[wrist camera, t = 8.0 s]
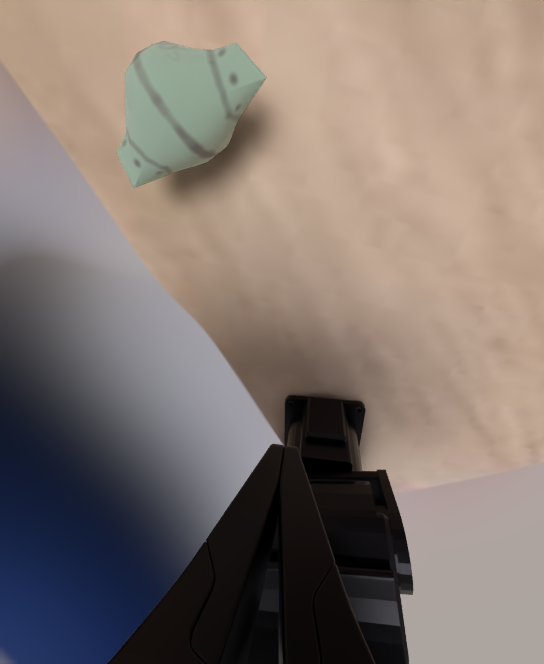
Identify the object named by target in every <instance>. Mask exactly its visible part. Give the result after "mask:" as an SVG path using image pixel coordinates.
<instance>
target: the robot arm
mask: <svg viewBox="0 0 544 664" xmlns="http://www.w3.org/2000/svg"><path fill="white" fill-rule="evenodd" d="M289 401H293V403H291V402H289ZM359 407H360V408H361V409H356V408H359ZM364 416H365V405H364V404H363V403H362V402H355V401H344V400H334V399H324V398H313V397H301V396H288V397H287V398H286V402H285V447H284V446H283V445H279V444H272V445H271V446H270V447H269V448H268V450H267V451H266V453H265V454H264V456H263V457H262V459H261V460H260V462H259V463H258V465H257V466H256V467H255V469H254V470H253V472H252V473H251V475H250V476H249V478H248V479H247V481H246V482H245V484H244V485H243V487H242V488H241V489H240V491H239V492H238V494H237V495H236V497H235V498H234V500H233V501H232V503H231V504H230V505H229V507H228V508H227V510H226V511H225V513H224V515H223V516H222V517H221V519H220V520H219V522H218V523H217V524H216V526H215V527H214V529H213V530H212V532H211V533H210V535H209V536H208V538H207V539H206V541H207V542H204V543H203V545H202V546H201V548H200V549H199V551H198V552H197V554H196V555H195V557H194V558H193V559H192V561H191V562H190V563H189V565H188V566H187V567H186V569H185V570H184V572H183V573H182V574H181V576H180V577H179V578H178V580H177V581H176V582H175V583H174V585H173V586H172V587H171V588H170V589H169V591H168V592H167V593H166V594H165V596H164V597H163V598H162V599H161V601H160V602H159V603H158V604H157V605H156V607H155V608H154V609H153V610H152V611H151V612H150V614H149V615H148V616H147V617H146V618H145V620H144V621H143V622H142V623H141V624H140V626H139V627H138V628H137V629H136V631H135V632H134V633H133V634H132V635H131V636H130V638H129V639H128V640H127V641H126V642H125V644H124V645H123V646H122V647H121V649H119V651H118V652H117V653H116V654H115V655H114V657H113V658H112V659H111V660H110V661H109V662H108V663H107V664H409V657H408V649H407V642H406V634H405V627H404V620H403V613H402V605H401V598H400V594H408V595H412V594H413V580H412V570H411V563H410V557H409V551H408V546H407V540H406V536H405V531H404V527H403V523H402V519H401V516H400V513H399V510H398V506H397V503H396V500H395V497H394V494H393V491H392V488H391V485H390V482H389V479H388V476H387V473H386V470H377V471H362V465H361V459H360V452H359V445H360V439H361V433H362V427H363V421H364Z"/></svg>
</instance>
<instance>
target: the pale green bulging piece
mask: <svg viewBox="0 0 544 664" xmlns="http://www.w3.org/2000/svg"><path fill="white" fill-rule="evenodd" d="M266 78H267V77H266V76H265V75H264V74H263V73H262V72H261V70H260V69H259V68H258V67H257V66H256V65H255V64H254V62H253V61H252V60H251V59H250V58H249V57H248V56H247V55H246V53H245V52H244V51H243V50H242V49H241V48H240V47H239V45H238V44H237V43H234V44H231V45H228V46H225V47H222V48H218V49H215V50H205V49H195V48H190V47H186V46H182V45H178V44H174V43H169V42H165V41H162V42H159V43H155V44H152V45H150V46H149V47H147V48H145V49H143V50H142V51H140V52H138V53H137V54H136V56H135V58H134V59H133V61H132V62H131V64H130V66H129V67H128V69H127V71H126V72H125V111H126V134H125V136H124V138H123V140H122V142H121V145H120V147H119V149H118V151H117V155H118V157H119V159H120V161H121V163H122V165H123V167H124V169H125V171H126V173H127V175H128V177H129V179H130V181H131V183H132V185H133V187H134V188H136V187H138V186H141V185H143V184H146V183H148V182H151V181H153V180H156V179H158V178H161V177H163V176H166V175H168V174H171V173H174V172H178V171H181V170H184V169H187V168H190V167H194V166H197V165H200V164H203V163H206V162H208V161H209V160H210V159H212V158H213V157H214V156H216V155H217V154H219V153H220V152H221V151H222V150H223V149H224V148H226V147H227V146H228V144H229V142H230V140H231V137H232V135H233V132H234V128H235V126H236V124H237V122H238V120H239V118H240V116H241V115H242V113H243V112H244V110H245V109H246V107H247V106H248V104H249V103H250V101H251V100H252V98H253V97H254V95H255V94H256V92H257V91H258V90H259V88H260V87H261V85H262V84H263V82H264V81H265V79H266Z"/></svg>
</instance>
